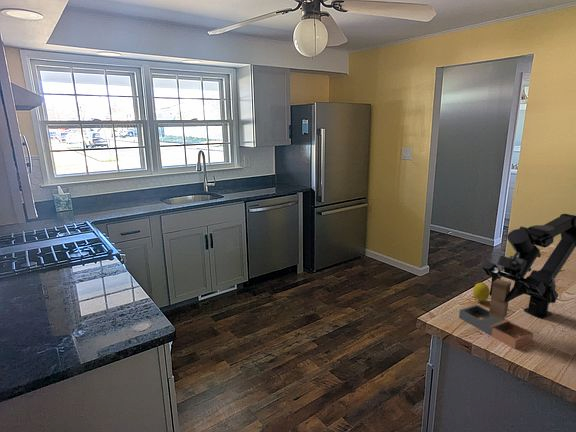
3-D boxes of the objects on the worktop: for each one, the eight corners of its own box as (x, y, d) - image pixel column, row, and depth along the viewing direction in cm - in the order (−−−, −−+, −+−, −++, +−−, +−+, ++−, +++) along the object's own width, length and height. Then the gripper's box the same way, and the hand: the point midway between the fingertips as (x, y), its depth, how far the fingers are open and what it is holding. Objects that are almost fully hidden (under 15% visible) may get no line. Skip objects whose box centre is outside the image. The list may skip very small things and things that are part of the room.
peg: (493, 311, 122) (497, 278, 119) (506, 315, 119) (511, 282, 116) (488, 315, 119) (492, 282, 116) (502, 320, 116) (506, 286, 113)
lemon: (474, 296, 144) (476, 278, 142) (489, 300, 141) (492, 281, 139) (470, 302, 140) (472, 283, 138) (486, 306, 136) (488, 287, 134)
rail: (475, 311, 133) (476, 304, 132) (532, 341, 115) (533, 332, 114) (459, 317, 129) (459, 309, 129) (514, 348, 111) (516, 339, 110)
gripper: (487, 238, 123) (462, 275, 121) (546, 255, 107) (518, 298, 105) (498, 256, 128) (475, 291, 126) (556, 274, 112) (530, 315, 110)
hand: (497, 298), depth 117 cm, fingers closed on peg, 5 cm apart
